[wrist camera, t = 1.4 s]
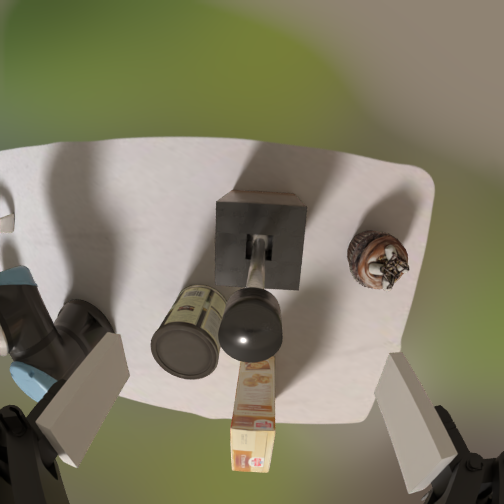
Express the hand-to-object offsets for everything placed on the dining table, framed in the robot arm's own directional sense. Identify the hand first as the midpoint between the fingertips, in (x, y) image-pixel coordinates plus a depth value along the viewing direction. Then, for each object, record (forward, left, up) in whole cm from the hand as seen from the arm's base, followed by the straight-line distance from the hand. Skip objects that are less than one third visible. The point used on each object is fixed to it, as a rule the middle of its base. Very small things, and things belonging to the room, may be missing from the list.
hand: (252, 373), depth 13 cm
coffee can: (-10, -17, -36) cm, 41 cm away
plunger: (0, 0, -24) cm, 24 cm away
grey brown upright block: (0, 0, -36) cm, 36 cm away
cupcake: (+19, -4, -36) cm, 41 cm away
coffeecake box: (+1, -34, -36) cm, 50 cm away
